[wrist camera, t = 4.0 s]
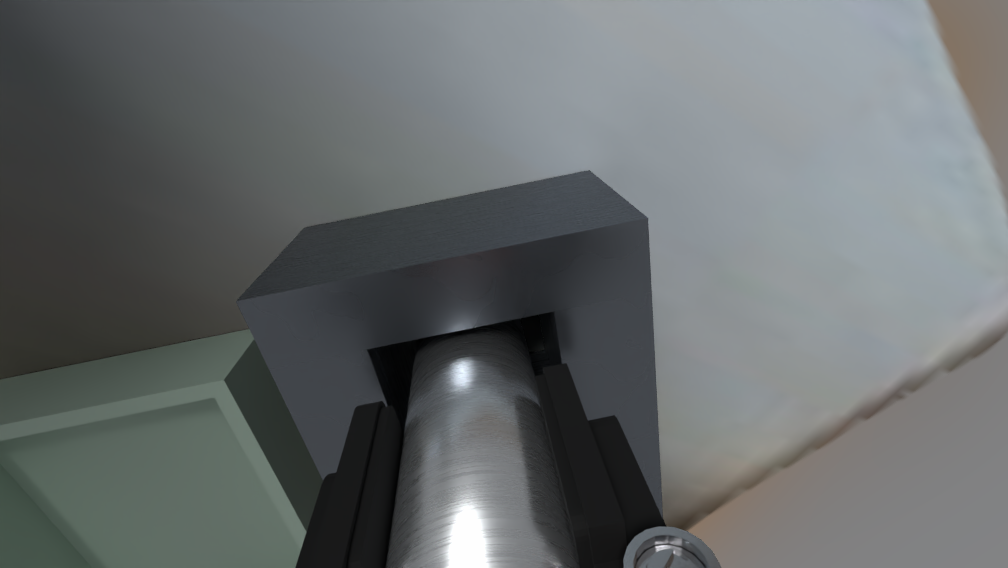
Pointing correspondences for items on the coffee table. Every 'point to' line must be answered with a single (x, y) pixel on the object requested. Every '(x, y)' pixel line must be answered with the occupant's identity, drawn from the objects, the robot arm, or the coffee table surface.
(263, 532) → the tray
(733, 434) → the coffee table surface
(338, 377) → the block
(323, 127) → the coffee table surface
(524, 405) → the pin
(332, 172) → the coffee table surface
